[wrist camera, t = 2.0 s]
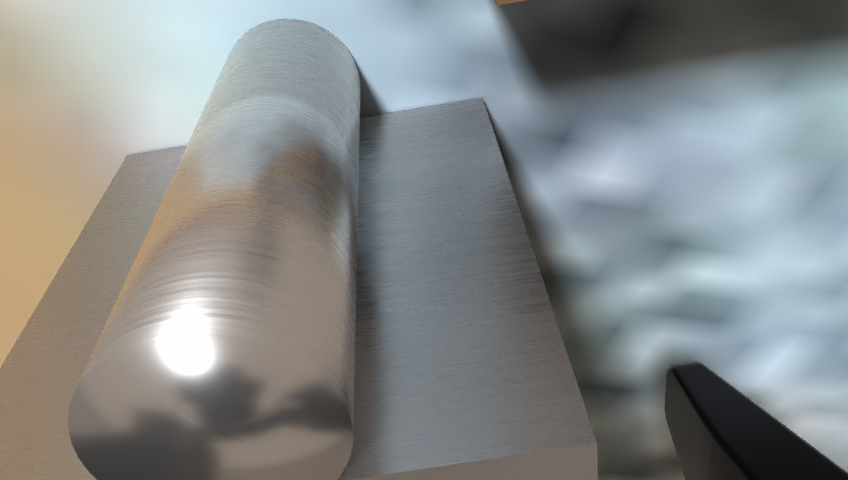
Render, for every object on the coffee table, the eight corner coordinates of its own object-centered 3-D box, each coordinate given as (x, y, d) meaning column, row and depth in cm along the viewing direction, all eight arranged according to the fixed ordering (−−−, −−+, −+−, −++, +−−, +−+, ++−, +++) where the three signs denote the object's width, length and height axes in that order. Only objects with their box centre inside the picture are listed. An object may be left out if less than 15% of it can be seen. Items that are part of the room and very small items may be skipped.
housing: (523, 484, 15) (602, 857, 10) (281, 519, 15) (239, 905, 10) (470, -13, 9) (595, 269, 4) (83, 51, 9) (-248, 401, 4)
